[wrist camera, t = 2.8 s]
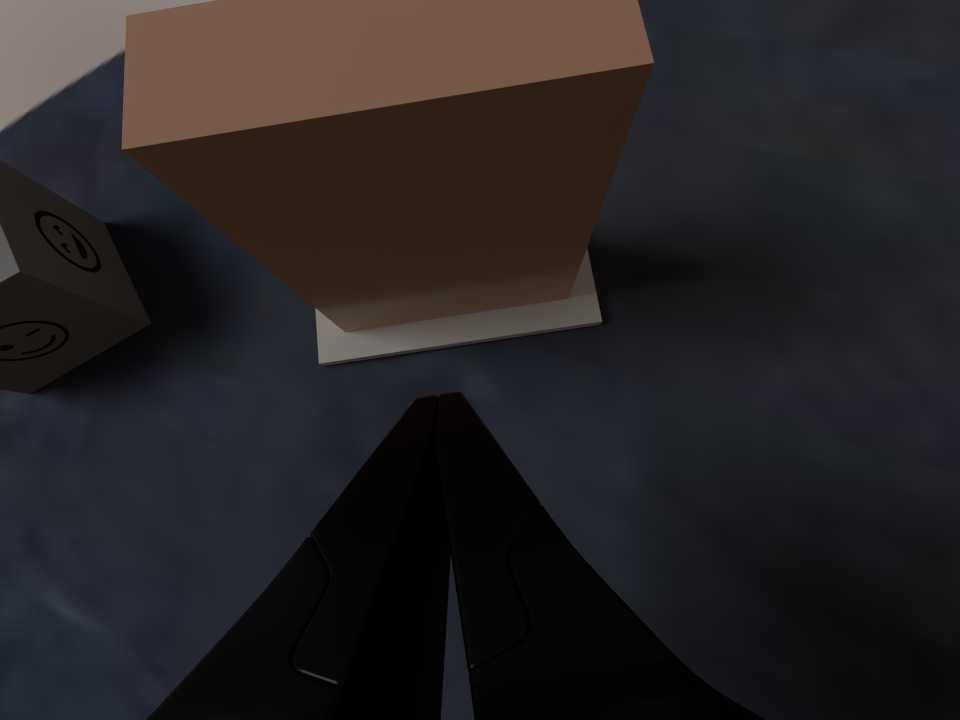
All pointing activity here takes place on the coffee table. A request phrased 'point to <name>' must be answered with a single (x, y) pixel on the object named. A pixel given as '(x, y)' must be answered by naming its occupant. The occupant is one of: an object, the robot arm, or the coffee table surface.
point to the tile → (392, 141)
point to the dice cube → (56, 286)
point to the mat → (462, 326)
